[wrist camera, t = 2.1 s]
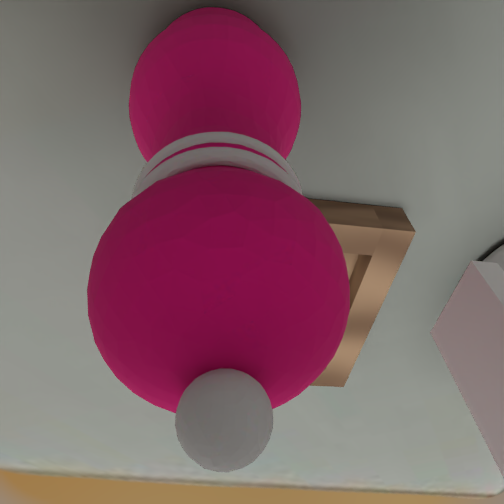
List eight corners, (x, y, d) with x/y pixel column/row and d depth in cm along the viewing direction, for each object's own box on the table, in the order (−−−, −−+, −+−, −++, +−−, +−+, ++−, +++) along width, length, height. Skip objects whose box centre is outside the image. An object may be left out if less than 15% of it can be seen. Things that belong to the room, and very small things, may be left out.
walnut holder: (159, 182, 27) (154, 206, 25) (402, 208, 29) (415, 231, 27) (150, 351, 36) (147, 378, 34) (336, 361, 38) (343, 386, 36)
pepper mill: (179, -40, 20) (76, 228, 5) (314, 45, 23) (540, 401, 7) (119, 103, 24) (-48, 521, 8) (242, 163, 27) (289, 566, 11)
